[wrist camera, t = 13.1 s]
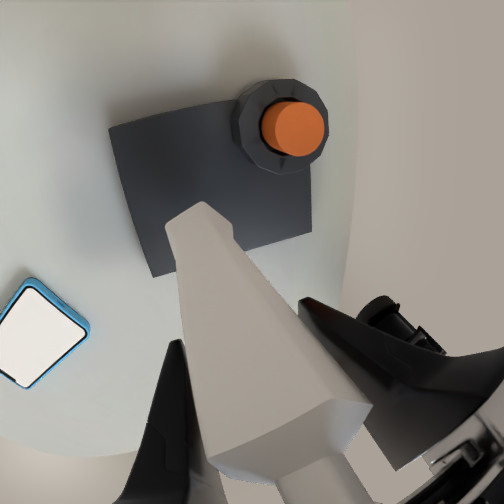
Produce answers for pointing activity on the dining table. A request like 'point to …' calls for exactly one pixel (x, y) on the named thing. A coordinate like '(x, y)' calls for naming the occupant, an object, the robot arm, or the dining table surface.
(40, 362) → the smartphone
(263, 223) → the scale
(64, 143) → the dining table surface
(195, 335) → the perfume bottle
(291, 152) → the button
